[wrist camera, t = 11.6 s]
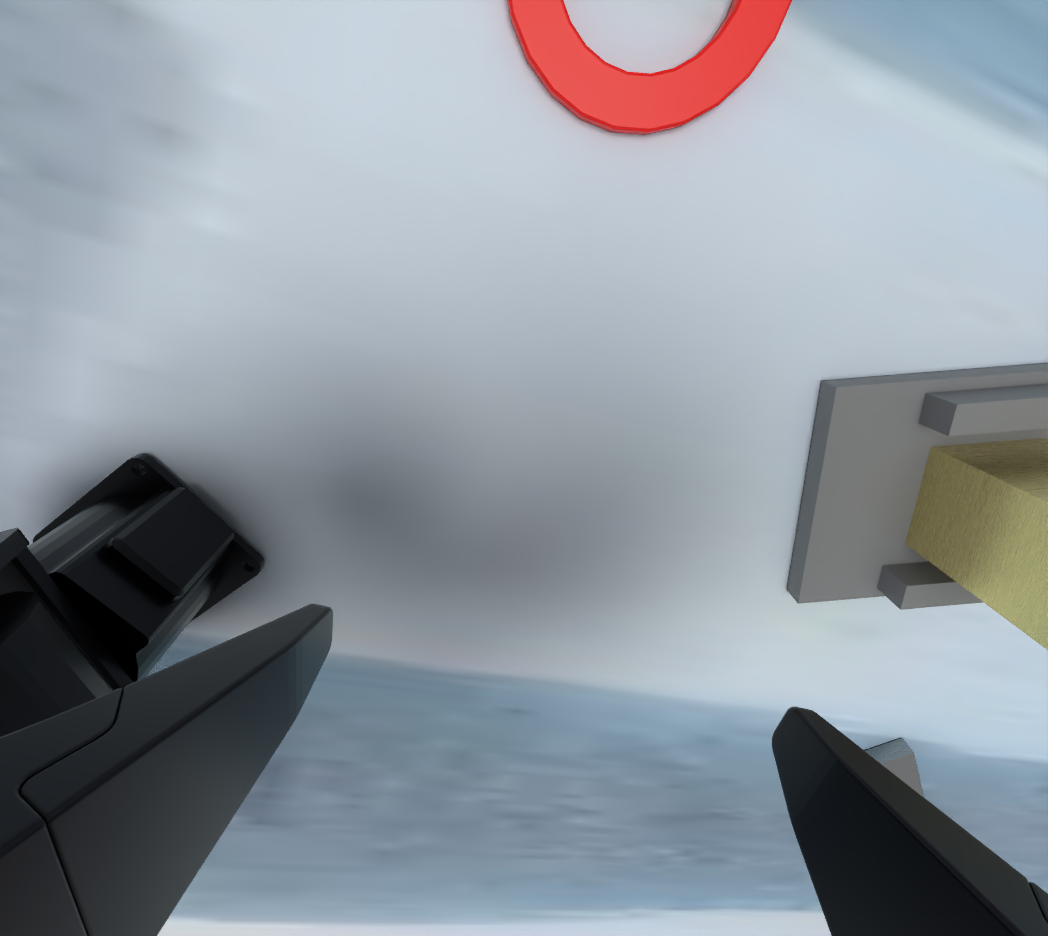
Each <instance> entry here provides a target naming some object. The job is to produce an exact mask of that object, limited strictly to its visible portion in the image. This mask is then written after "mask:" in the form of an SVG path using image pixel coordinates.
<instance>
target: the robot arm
mask: <svg viewBox="0 0 1048 936" xmlns="http://www.w3.org/2000/svg"><path fill="white" fill-rule="evenodd" d="M138 464H140V465H142V466H143V467H144V468H145V470H146V472H145V471H142V470H141V469H140V468H139V467H138ZM28 545H29V541H28V540H27V539H26V538H25V536H24V535H23V534H22V532H21V531H20V530H19V529H18V528H14V529H11V530H7V531H3V532H0V936H157V935H158V933H159V932H160V930H161V929H162V927H163V925H164V924H165V922H166V921H167V919H168V918H169V916H170V914H171V913H172V911H173V910H174V908H175V907H176V905H177V904H178V902H179V900H180V899H181V897H182V896H183V894H184V893H185V891H186V890H187V888H188V886H189V885H190V883H191V882H192V880H193V879H194V877H195V876H196V874H197V872H198V871H199V869H200V868H201V866H202V865H203V863H204V861H205V860H206V858H207V857H208V855H209V854H210V852H211V851H212V849H213V847H214V846H215V844H216V843H217V841H218V840H219V838H220V837H221V835H222V833H223V832H224V830H225V829H226V827H227V826H228V824H229V823H230V821H231V819H232V818H233V816H234V815H235V813H236V812H237V810H238V808H239V807H240V805H241V804H242V802H243V801H244V799H245V798H246V796H247V794H248V793H249V791H250V790H251V788H252V787H253V785H254V784H255V782H256V780H257V779H258V777H259V776H260V774H261V773H262V771H263V770H264V768H265V766H266V765H267V763H268V762H269V760H270V759H271V757H272V755H273V754H274V752H275V751H276V749H277V748H278V746H279V745H280V743H281V741H282V740H283V738H284V737H285V735H286V734H287V732H288V731H289V729H290V727H291V726H292V724H293V722H294V721H295V719H296V717H297V715H298V713H299V711H300V709H301V708H302V706H303V704H304V701H305V699H306V697H307V695H308V693H309V691H310V689H311V687H312V685H313V683H314V681H315V679H316V677H317V675H318V673H319V671H320V669H321V667H322V665H323V663H324V661H325V658H326V656H327V654H328V652H329V649H330V646H331V642H332V628H333V611H332V609H331V608H330V607H326V606H322V605H317V604H310V605H308V606H305V607H303V608H301V609H299V610H296V611H294V612H292V613H289V614H287V615H285V616H283V617H280V618H278V619H276V620H274V621H271V622H269V623H267V624H265V625H262V626H260V627H258V628H256V629H253V630H251V631H249V632H247V633H244V634H242V635H240V636H238V637H235V638H233V639H231V640H229V641H226V642H224V643H222V644H220V645H217V646H215V647H213V648H210V649H208V650H206V651H204V652H201V653H199V654H197V655H195V656H192V657H190V658H188V659H186V660H183V661H181V662H179V663H177V664H174V665H172V666H170V667H168V668H165V669H163V670H161V671H159V672H156V673H154V674H152V675H150V676H147V675H148V673H149V672H150V671H151V670H152V668H153V667H154V666H155V665H156V663H157V662H158V661H159V660H160V658H161V657H162V656H163V655H164V653H165V652H166V651H167V650H168V648H169V647H170V646H171V645H172V643H173V642H174V641H175V640H176V638H177V637H178V636H179V635H180V633H181V632H182V631H183V630H184V628H185V627H186V626H187V625H188V623H189V622H191V621H192V620H194V619H195V618H196V617H198V616H199V615H201V614H202V613H203V612H205V611H206V610H208V609H209V608H211V607H212V606H213V605H215V604H216V603H218V602H219V601H221V600H222V599H223V598H225V597H226V596H228V595H229V594H230V593H232V592H233V591H235V590H236V589H238V588H239V587H240V586H242V585H243V584H245V583H246V582H247V581H249V580H250V579H252V578H253V577H255V576H256V575H257V574H258V573H259V572H260V571H261V569H262V568H263V567H264V563H265V562H264V559H263V557H262V556H261V555H260V554H259V553H258V552H257V551H256V550H255V549H253V548H252V547H251V546H250V545H249V544H248V543H247V542H246V541H245V540H243V539H242V538H241V537H240V536H239V535H238V534H237V533H236V532H235V531H233V530H232V529H231V528H230V527H229V526H228V525H227V524H226V523H225V522H223V521H222V520H221V519H220V518H219V517H218V516H217V515H216V514H215V513H213V512H212V511H211V510H210V509H209V508H208V507H207V506H206V505H205V504H203V503H202V502H201V501H200V500H199V499H198V498H197V497H196V496H195V495H193V494H192V493H191V492H190V491H189V490H188V489H187V488H186V487H185V486H183V485H182V484H181V483H180V482H179V481H178V480H177V479H176V478H175V477H173V476H172V475H171V474H170V473H169V472H168V471H167V470H166V469H165V468H163V467H162V466H161V465H160V464H159V463H158V462H157V461H156V460H155V459H153V458H152V457H150V456H149V455H145V454H138V455H136V456H134V457H132V458H130V459H129V460H127V461H126V462H125V463H124V464H122V465H121V466H120V467H119V468H117V469H116V470H115V471H114V472H113V473H111V474H110V475H109V476H108V477H106V478H105V479H104V480H103V481H102V482H100V483H99V484H98V485H97V486H96V487H94V488H93V489H92V490H91V491H89V492H88V493H87V494H86V495H85V496H83V497H82V498H81V499H80V500H78V501H77V502H76V503H75V504H74V505H72V506H71V507H70V508H69V509H67V510H66V511H65V512H64V513H63V514H61V515H60V516H59V517H58V518H56V519H55V520H54V521H53V522H52V523H50V524H49V525H48V526H47V527H45V528H44V529H43V530H42V531H41V532H39V533H38V534H37V535H36V536H35V537H34V539H33V544H31V545H30V546H28ZM27 546H28V547H27ZM246 561H247V562H251V563H253V564H254V566H250V565H248V563H247V562H246ZM146 676H147V677H146ZM772 748H773V753H774V757H775V761H776V765H777V769H778V773H779V777H780V781H781V785H782V789H783V793H784V797H785V801H786V805H787V809H788V812H789V816H790V819H791V823H792V826H793V829H794V832H795V835H796V838H797V841H798V843H799V846H800V849H801V852H802V855H803V857H804V860H805V863H806V866H807V869H808V871H809V874H810V877H811V880H812V882H813V885H814V888H815V891H816V894H817V896H818V899H819V902H820V905H821V907H822V910H823V913H824V916H825V919H826V921H827V924H828V927H829V930H830V932H831V935H832V936H1048V894H1047V893H1046V892H1045V891H1044V890H1042V889H1041V888H1040V887H1038V886H1037V885H1036V884H1034V883H1033V882H1028V880H1027V878H1026V877H1024V876H1023V875H1022V874H1021V873H1019V872H1018V871H1017V870H1016V869H1014V868H1013V867H1012V866H1010V865H1009V864H1008V863H1007V862H1005V861H1004V860H1003V859H1002V858H1000V857H999V856H998V855H996V854H995V853H994V852H993V851H991V850H990V849H989V848H987V847H986V846H985V845H984V844H982V843H981V842H980V841H979V840H977V839H976V838H975V837H973V836H972V835H971V834H970V833H968V832H967V831H966V830H965V829H963V828H962V827H961V826H959V825H958V824H957V823H956V822H954V821H953V820H952V819H951V818H949V817H948V816H947V815H945V814H944V813H943V812H942V811H940V810H939V809H938V808H937V807H935V806H934V805H933V804H931V803H930V802H929V801H928V800H926V799H925V798H924V797H923V796H921V795H920V794H919V793H917V792H916V791H915V790H914V789H912V788H911V787H910V786H909V785H907V784H906V783H905V782H903V781H902V780H901V779H900V778H898V777H897V776H896V775H895V774H893V773H892V772H891V771H889V770H888V769H887V768H886V767H884V766H883V765H882V764H881V763H879V762H878V761H877V760H875V759H874V758H873V757H872V756H870V755H869V754H868V753H867V752H865V751H864V750H863V749H861V748H860V747H859V746H858V745H856V744H855V743H854V742H852V741H851V740H850V739H849V738H847V737H846V736H845V735H844V734H842V733H841V732H840V731H838V730H837V729H836V728H835V727H833V726H832V725H831V724H830V723H828V722H827V721H826V720H824V719H823V718H822V717H821V716H819V715H818V714H817V713H815V712H814V711H812V710H809V709H804V708H799V707H791V708H789V709H788V710H787V712H786V713H785V715H784V717H783V718H782V720H781V721H780V723H779V725H778V726H777V728H776V730H775V731H774V733H773V737H772Z"/></svg>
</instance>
